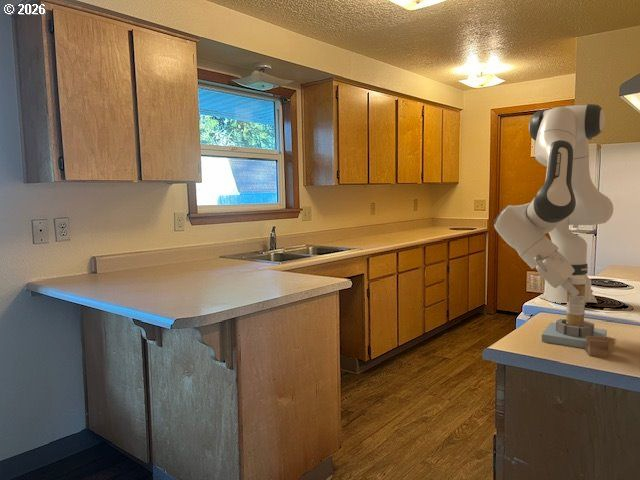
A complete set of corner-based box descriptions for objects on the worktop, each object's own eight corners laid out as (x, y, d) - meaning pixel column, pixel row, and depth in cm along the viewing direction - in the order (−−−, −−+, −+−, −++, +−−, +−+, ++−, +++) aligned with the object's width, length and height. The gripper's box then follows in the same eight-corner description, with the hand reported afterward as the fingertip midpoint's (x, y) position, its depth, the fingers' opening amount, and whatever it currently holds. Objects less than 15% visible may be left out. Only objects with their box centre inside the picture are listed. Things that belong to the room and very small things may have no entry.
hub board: (550, 328, 137) (551, 313, 137) (606, 336, 129) (607, 320, 128) (541, 341, 126) (542, 325, 125) (602, 351, 118) (602, 333, 117)
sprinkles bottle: (568, 322, 130) (569, 274, 129) (586, 324, 127) (587, 275, 126) (563, 325, 126) (564, 276, 125) (582, 328, 123) (583, 278, 122)
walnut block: (585, 351, 118) (585, 335, 118) (602, 352, 117) (603, 336, 117) (589, 356, 114) (590, 340, 114) (607, 357, 113) (608, 341, 113)
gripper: (542, 250, 120) (584, 292, 116) (555, 243, 137) (592, 279, 132) (523, 266, 123) (563, 307, 119) (538, 257, 140) (574, 293, 135)
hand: (578, 292), depth 125 cm, fingers closed on sprinkles bottle, 4 cm apart
